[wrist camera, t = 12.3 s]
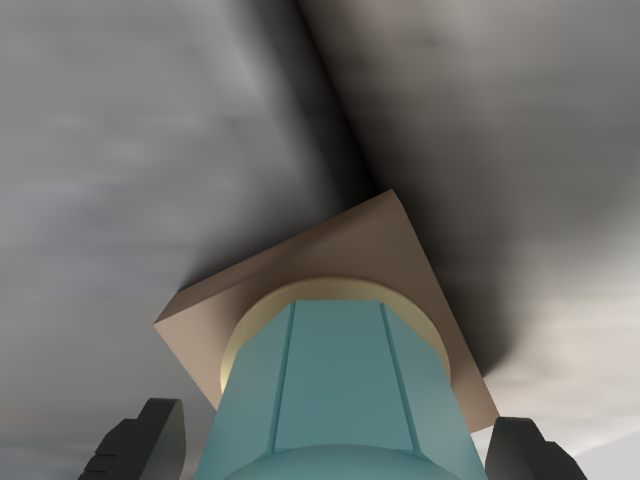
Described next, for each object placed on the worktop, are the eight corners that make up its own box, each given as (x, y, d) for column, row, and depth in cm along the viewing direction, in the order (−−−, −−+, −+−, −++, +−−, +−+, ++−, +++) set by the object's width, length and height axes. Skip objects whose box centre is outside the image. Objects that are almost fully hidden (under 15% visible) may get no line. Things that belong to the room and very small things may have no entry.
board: (392, 188, 13) (440, 268, 7) (481, 380, 15) (570, 552, 10) (175, 293, 14) (77, 428, 9) (288, 454, 17) (269, 641, 11)
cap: (193, 385, 13) (86, 629, 7) (337, 254, 11) (348, 431, 5) (335, 491, 14) (340, 765, 8) (480, 387, 12) (606, 638, 7)
